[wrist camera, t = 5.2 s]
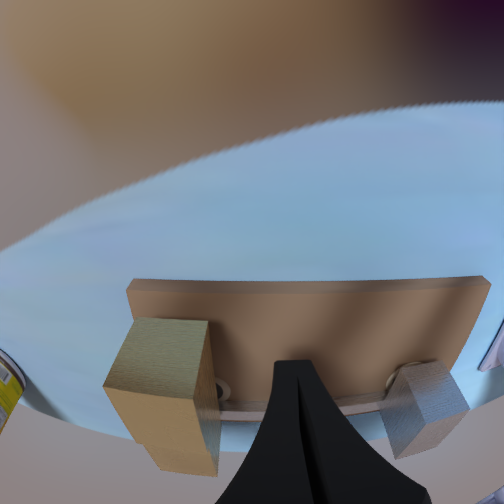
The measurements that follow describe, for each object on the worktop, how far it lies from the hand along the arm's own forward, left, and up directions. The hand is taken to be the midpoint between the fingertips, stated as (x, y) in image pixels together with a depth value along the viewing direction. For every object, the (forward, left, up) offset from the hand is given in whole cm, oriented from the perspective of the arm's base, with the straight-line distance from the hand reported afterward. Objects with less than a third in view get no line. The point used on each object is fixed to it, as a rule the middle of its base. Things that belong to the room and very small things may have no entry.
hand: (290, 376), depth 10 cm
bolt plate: (-2, +3, -4) cm, 5 cm away
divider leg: (+5, +2, -2) cm, 6 cm away
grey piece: (-2, +4, -3) cm, 5 cm away
